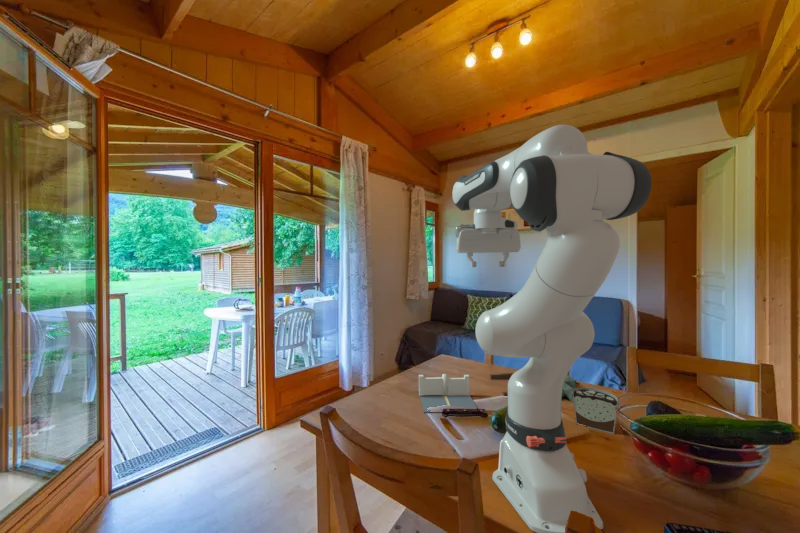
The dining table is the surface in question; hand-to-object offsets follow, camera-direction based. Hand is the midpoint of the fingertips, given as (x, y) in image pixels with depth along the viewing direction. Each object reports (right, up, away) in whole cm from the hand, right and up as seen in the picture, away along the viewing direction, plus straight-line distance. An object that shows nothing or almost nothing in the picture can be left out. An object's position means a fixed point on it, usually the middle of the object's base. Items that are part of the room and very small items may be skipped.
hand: (488, 266), depth 101 cm
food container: (+30, -48, -7) cm, 57 cm away
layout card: (-12, -48, +11) cm, 50 cm away
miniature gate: (+24, -48, +21) cm, 57 cm away
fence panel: (-16, -47, +13) cm, 51 cm away
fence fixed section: (-8, -47, +14) cm, 50 cm away
